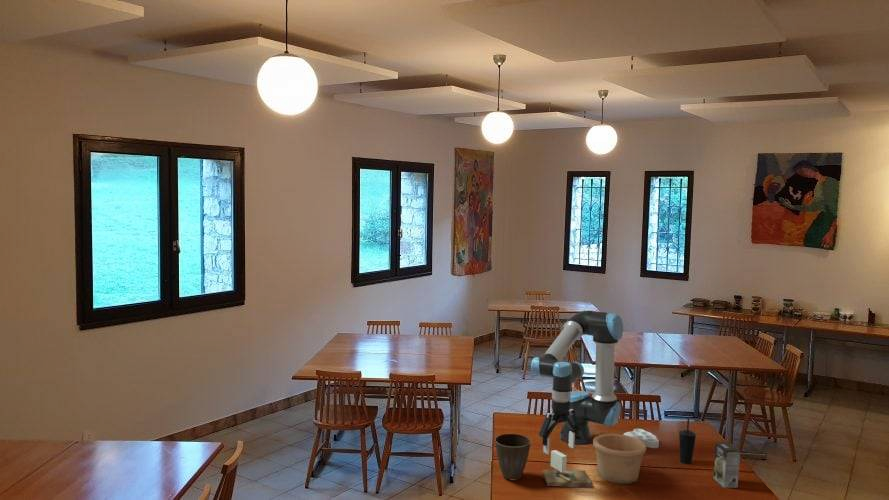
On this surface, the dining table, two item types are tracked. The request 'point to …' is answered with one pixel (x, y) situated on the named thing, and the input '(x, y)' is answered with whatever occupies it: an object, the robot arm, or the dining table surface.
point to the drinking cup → (686, 444)
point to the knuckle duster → (644, 437)
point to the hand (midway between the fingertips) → (558, 450)
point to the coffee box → (726, 464)
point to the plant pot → (512, 454)
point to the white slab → (559, 463)
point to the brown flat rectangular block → (576, 477)
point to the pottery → (618, 457)
